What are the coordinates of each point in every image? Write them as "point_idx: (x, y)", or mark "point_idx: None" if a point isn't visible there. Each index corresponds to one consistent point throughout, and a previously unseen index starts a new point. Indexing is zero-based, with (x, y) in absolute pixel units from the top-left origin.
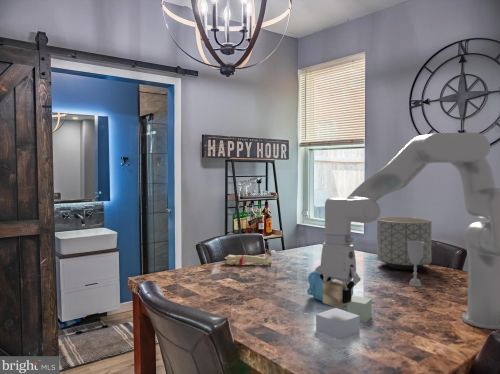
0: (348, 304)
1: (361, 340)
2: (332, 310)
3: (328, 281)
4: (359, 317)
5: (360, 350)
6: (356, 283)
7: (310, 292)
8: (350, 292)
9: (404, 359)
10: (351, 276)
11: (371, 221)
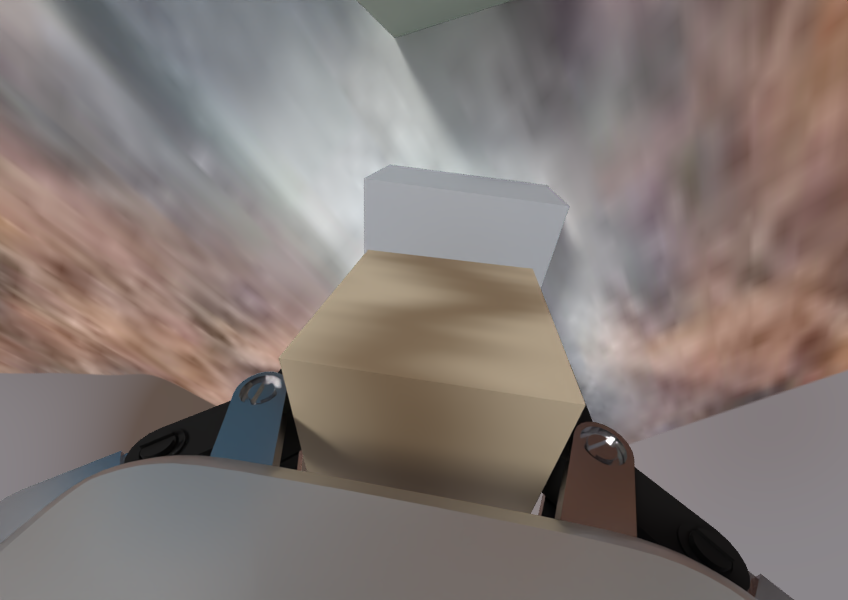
0: (374, 4)
1: (591, 272)
2: (383, 238)
3: (313, 464)
4: (566, 203)
5: (615, 348)
6: (752, 583)
7: None
8: (583, 416)
9: (814, 322)
10: (640, 561)
11: None
